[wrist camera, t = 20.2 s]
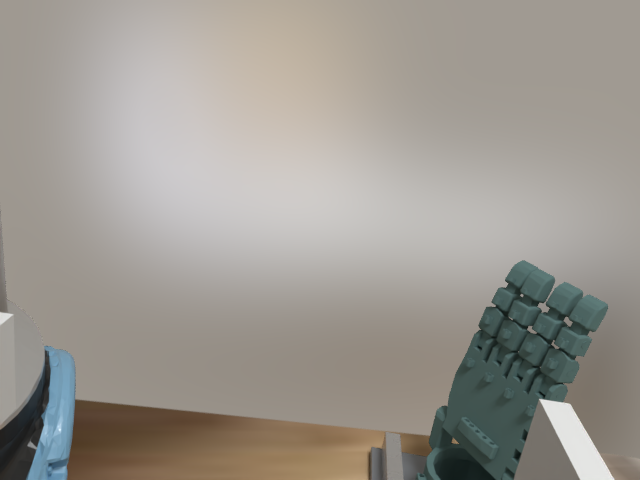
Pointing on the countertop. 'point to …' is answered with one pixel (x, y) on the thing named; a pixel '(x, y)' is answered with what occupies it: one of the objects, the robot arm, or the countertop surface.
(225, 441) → the countertop surface
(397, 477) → the rail dock
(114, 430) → the countertop surface
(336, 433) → the countertop surface
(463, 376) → the robotic hand
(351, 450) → the countertop surface
